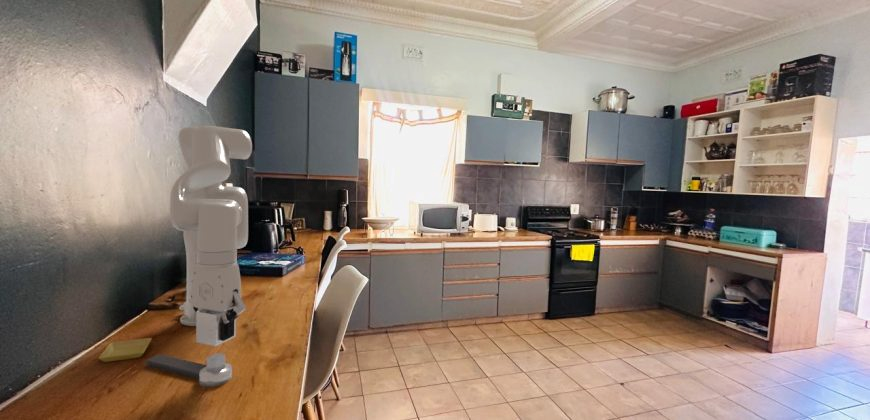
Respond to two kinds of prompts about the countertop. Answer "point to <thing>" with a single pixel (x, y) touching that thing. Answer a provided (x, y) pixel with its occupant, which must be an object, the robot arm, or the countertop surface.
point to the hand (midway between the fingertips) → (216, 335)
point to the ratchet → (196, 368)
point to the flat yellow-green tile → (125, 350)
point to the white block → (210, 327)
